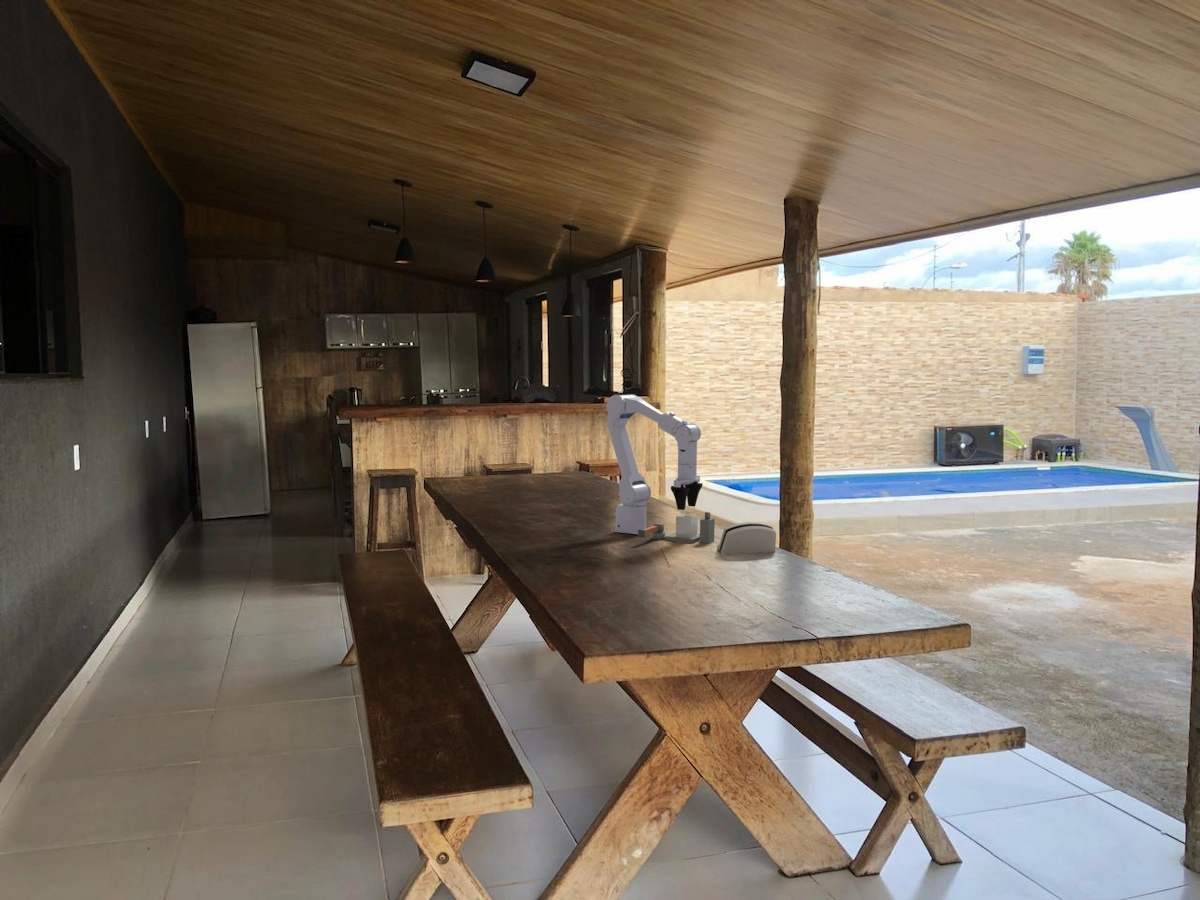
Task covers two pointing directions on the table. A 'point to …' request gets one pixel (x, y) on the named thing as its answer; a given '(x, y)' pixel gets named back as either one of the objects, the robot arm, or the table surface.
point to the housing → (686, 525)
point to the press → (704, 536)
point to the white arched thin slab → (747, 538)
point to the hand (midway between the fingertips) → (686, 507)
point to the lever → (651, 529)
